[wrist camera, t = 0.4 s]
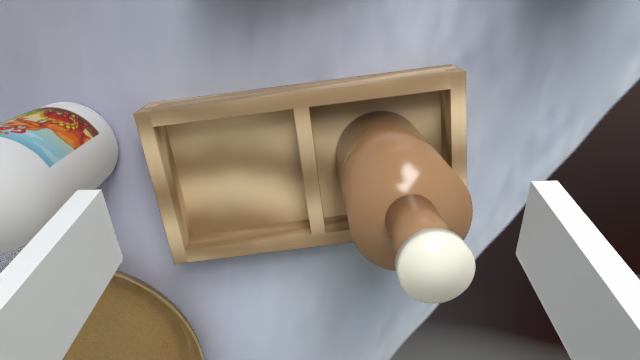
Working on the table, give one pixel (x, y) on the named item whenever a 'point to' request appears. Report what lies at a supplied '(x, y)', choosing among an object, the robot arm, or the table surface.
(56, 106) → the milk bottle
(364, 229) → the brown bottle
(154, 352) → the plant saucer
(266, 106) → the divided wooden tray
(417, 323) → the table surface
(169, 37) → the table surface
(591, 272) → the robot arm
